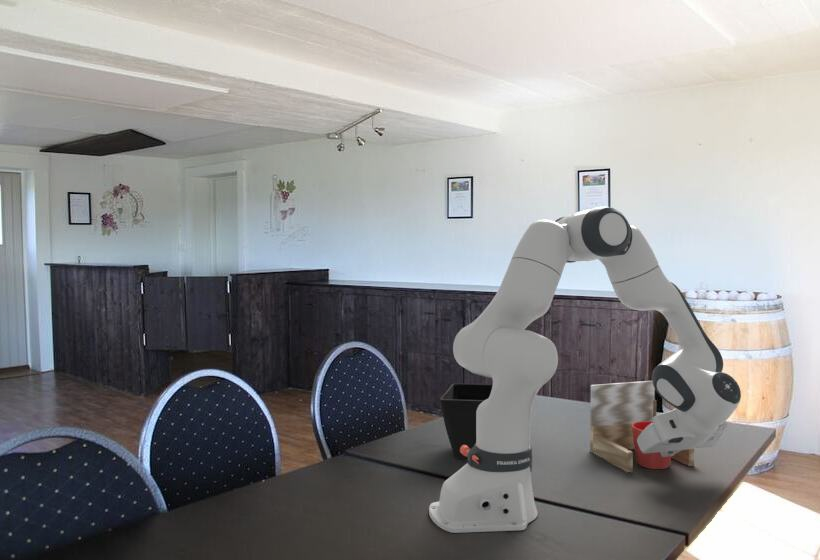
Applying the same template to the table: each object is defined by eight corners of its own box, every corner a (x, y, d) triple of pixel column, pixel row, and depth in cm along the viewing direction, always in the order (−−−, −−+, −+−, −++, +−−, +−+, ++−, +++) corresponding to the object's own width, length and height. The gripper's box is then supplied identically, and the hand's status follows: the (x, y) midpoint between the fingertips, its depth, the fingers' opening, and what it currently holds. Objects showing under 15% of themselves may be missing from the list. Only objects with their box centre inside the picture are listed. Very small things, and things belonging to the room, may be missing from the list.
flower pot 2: (670, 458, 178) (671, 421, 177) (680, 472, 167) (681, 433, 166) (628, 456, 179) (628, 419, 179) (635, 470, 168) (635, 431, 168)
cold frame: (627, 472, 167) (628, 399, 166) (590, 451, 184) (590, 385, 183) (694, 465, 172) (695, 394, 171) (652, 445, 189) (652, 380, 188)
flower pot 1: (439, 462, 176) (439, 397, 175) (452, 441, 194) (452, 382, 193) (514, 468, 171) (514, 401, 170) (520, 445, 189) (520, 385, 188)
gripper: (724, 409, 162) (696, 438, 172) (648, 415, 157) (624, 445, 167) (737, 433, 158) (708, 461, 168) (660, 440, 153) (634, 469, 163)
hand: (665, 453), depth 168 cm, fingers closed, pressing on flower pot 2
